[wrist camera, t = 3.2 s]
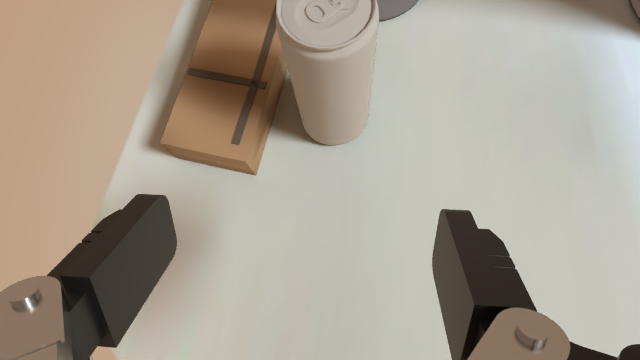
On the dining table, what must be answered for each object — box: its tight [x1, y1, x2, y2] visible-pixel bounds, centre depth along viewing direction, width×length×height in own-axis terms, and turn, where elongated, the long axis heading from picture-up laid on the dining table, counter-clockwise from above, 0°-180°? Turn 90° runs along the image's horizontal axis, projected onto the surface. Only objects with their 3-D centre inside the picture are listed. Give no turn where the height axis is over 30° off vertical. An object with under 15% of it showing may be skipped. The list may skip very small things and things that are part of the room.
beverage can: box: [276, 0, 379, 145], centre depth 24 cm, size 5×5×12 cm
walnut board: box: [160, 0, 288, 175], centre depth 30 cm, size 24×6×3 cm, turn 166°
